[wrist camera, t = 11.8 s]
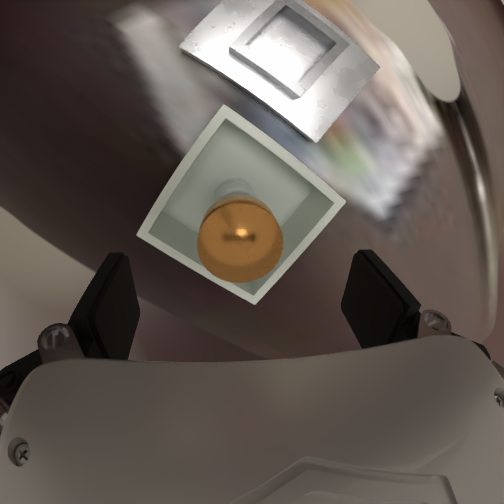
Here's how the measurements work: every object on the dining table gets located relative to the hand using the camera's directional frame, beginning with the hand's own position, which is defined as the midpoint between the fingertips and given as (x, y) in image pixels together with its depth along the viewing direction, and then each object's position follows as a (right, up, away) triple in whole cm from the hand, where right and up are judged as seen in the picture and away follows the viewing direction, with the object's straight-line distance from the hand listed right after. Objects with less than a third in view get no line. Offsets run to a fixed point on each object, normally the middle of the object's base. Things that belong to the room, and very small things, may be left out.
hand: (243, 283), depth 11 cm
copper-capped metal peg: (-1, +6, +13) cm, 15 cm away
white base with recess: (+3, +18, +8) cm, 20 cm away
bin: (-1, +6, +14) cm, 15 cm away
